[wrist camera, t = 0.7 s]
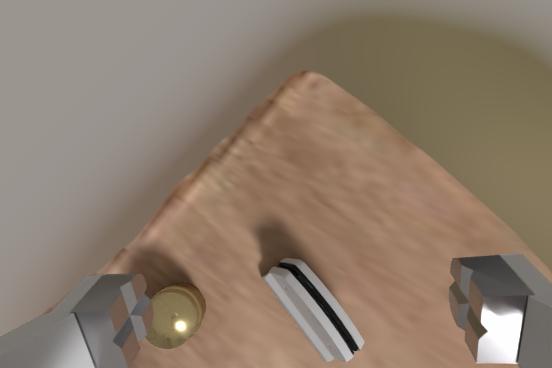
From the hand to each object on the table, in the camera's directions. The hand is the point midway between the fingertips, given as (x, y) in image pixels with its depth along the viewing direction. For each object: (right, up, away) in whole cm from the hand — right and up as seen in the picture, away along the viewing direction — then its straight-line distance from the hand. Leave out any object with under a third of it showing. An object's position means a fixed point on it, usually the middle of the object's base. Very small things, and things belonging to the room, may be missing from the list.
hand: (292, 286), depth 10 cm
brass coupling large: (-15, -17, +49) cm, 54 cm away
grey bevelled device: (+5, -16, +48) cm, 51 cm away
